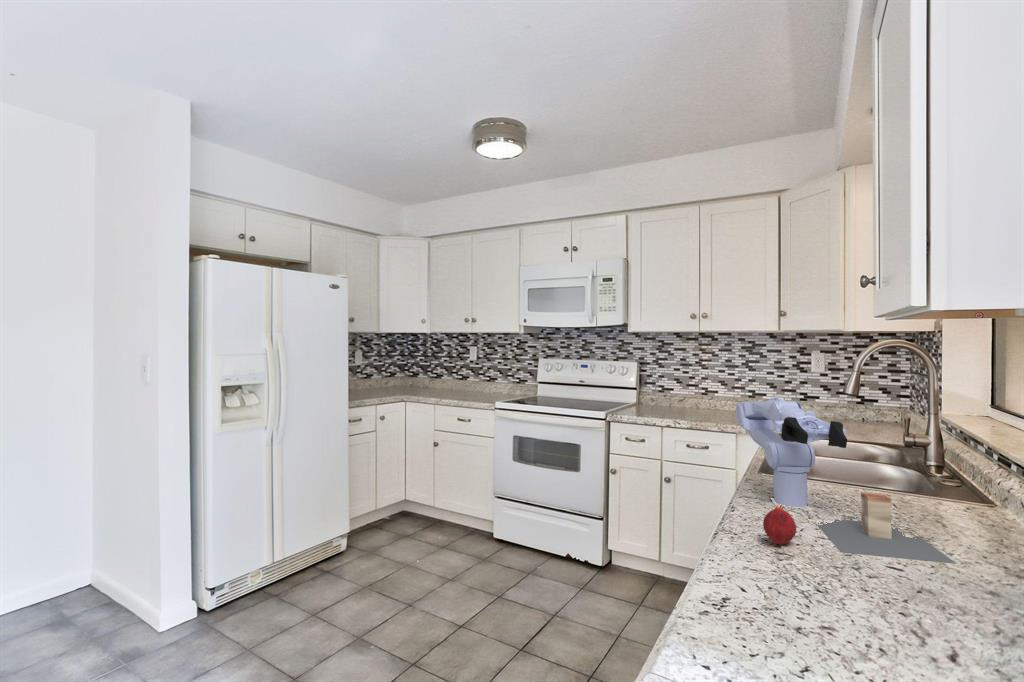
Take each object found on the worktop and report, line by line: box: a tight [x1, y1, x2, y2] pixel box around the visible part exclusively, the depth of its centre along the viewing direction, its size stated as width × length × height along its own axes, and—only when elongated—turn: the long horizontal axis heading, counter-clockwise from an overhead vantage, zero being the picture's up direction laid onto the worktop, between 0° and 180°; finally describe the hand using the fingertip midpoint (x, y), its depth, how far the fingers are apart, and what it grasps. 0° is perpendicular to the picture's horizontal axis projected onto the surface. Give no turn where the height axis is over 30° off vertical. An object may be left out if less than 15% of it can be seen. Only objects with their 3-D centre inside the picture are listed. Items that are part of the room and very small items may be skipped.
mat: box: [817, 518, 957, 565], centre depth 104 cm, size 22×18×1 cm
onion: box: [762, 504, 797, 546], centre depth 101 cm, size 6×6×8 cm
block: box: [860, 491, 892, 539], centre depth 106 cm, size 4×4×8 cm
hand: (825, 441), depth 109 cm, fingers open, 7 cm apart
